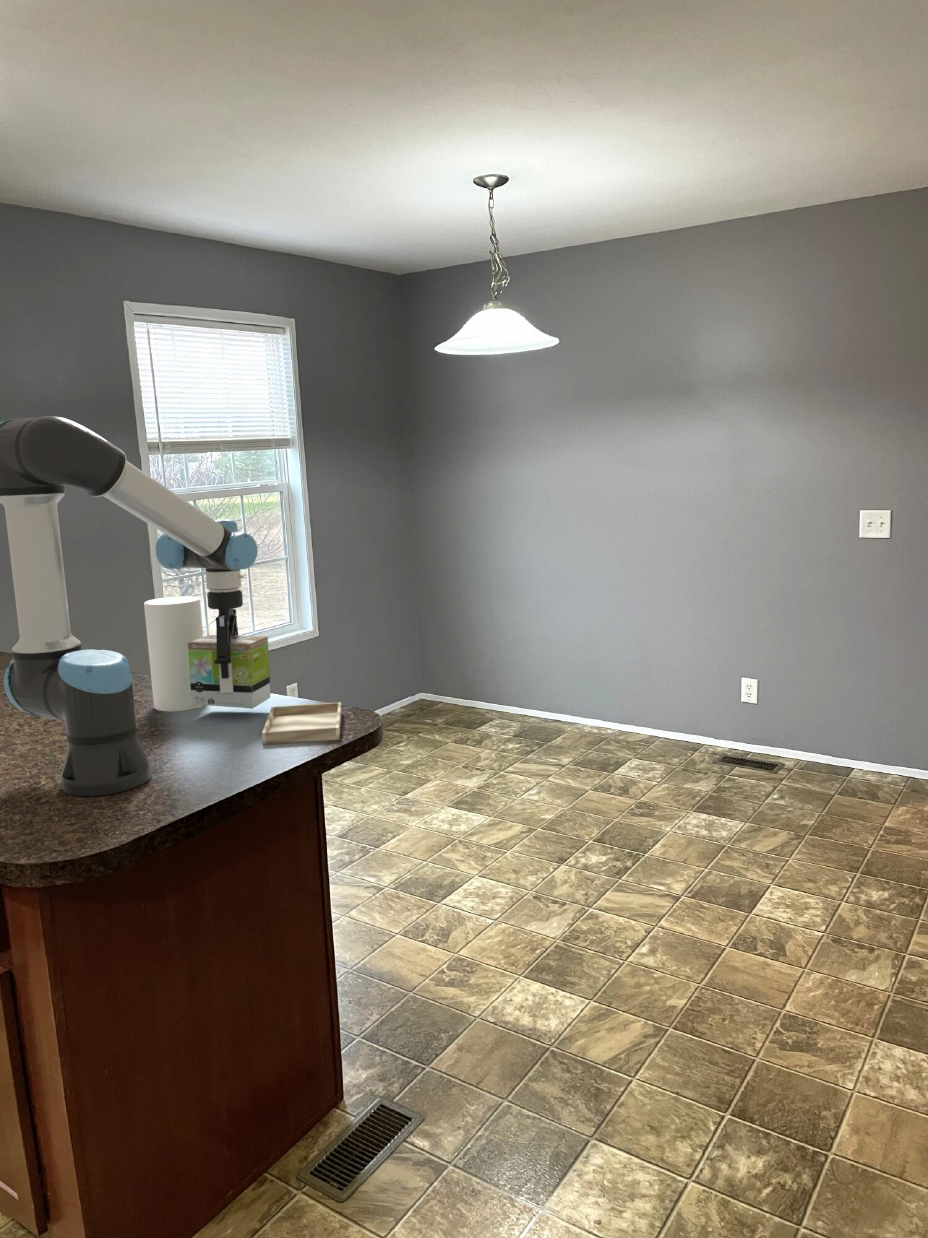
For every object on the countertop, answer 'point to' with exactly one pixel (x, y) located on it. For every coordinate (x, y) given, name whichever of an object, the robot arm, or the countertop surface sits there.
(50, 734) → the countertop surface
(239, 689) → the tea box
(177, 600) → the cylinder
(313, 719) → the tray
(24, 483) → the robot arm
